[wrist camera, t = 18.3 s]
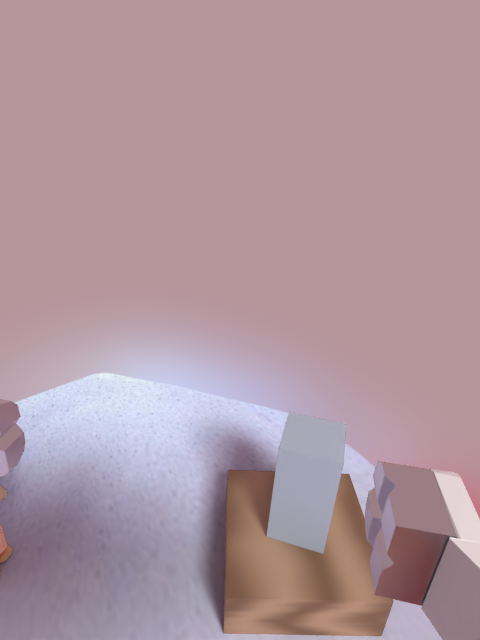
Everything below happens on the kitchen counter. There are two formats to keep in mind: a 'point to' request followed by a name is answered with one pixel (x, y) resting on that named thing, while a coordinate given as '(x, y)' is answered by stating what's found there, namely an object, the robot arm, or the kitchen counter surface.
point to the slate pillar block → (306, 481)
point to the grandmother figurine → (3, 551)
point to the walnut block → (297, 569)
